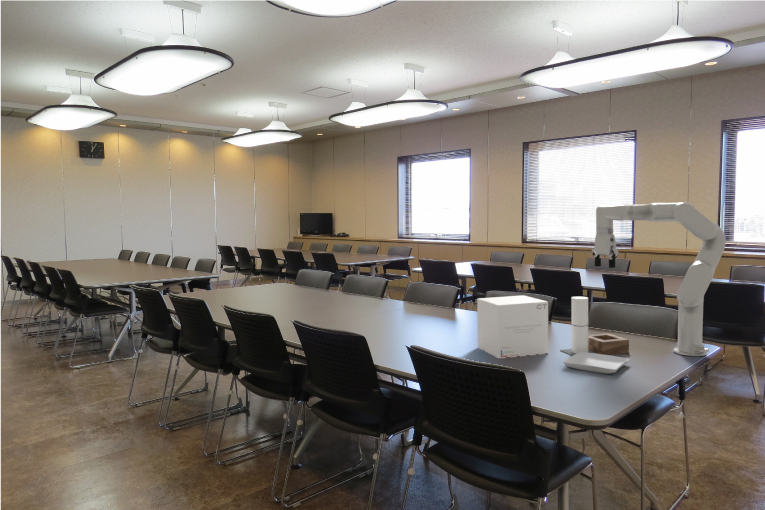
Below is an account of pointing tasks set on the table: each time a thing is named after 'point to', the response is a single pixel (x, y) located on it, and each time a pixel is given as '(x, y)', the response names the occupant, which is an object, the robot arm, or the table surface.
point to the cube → (512, 326)
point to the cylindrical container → (579, 324)
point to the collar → (607, 344)
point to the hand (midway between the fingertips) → (604, 267)
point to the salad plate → (595, 362)
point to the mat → (569, 351)
